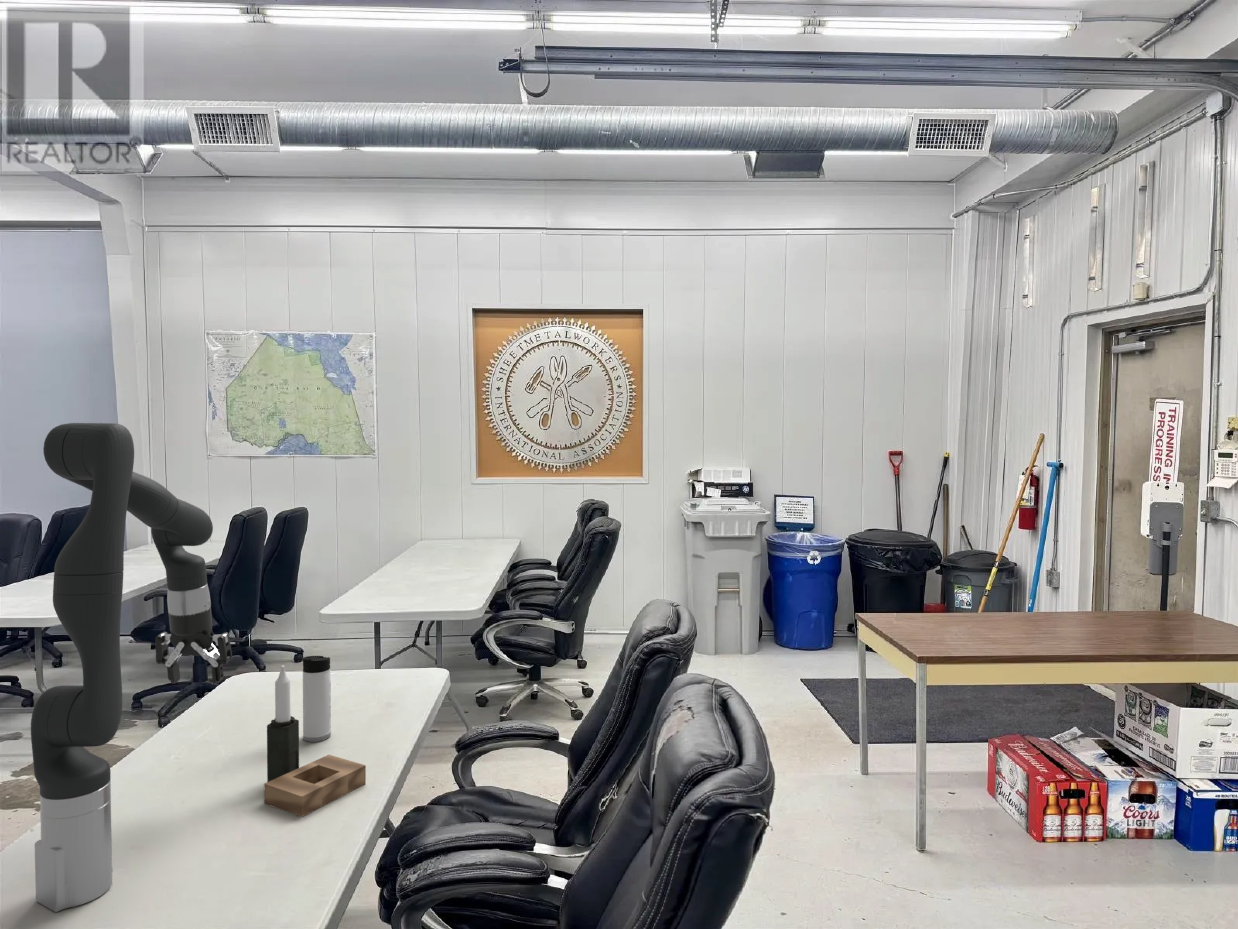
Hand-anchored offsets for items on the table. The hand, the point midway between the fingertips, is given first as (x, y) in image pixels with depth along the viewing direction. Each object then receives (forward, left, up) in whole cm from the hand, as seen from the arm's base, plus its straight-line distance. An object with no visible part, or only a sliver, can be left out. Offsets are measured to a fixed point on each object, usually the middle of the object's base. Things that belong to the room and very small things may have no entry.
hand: (196, 682), depth 158 cm
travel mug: (+31, +1, -23) cm, 38 cm away
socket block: (+10, -23, -22) cm, 34 cm away
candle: (+11, -13, -23) cm, 28 cm away
